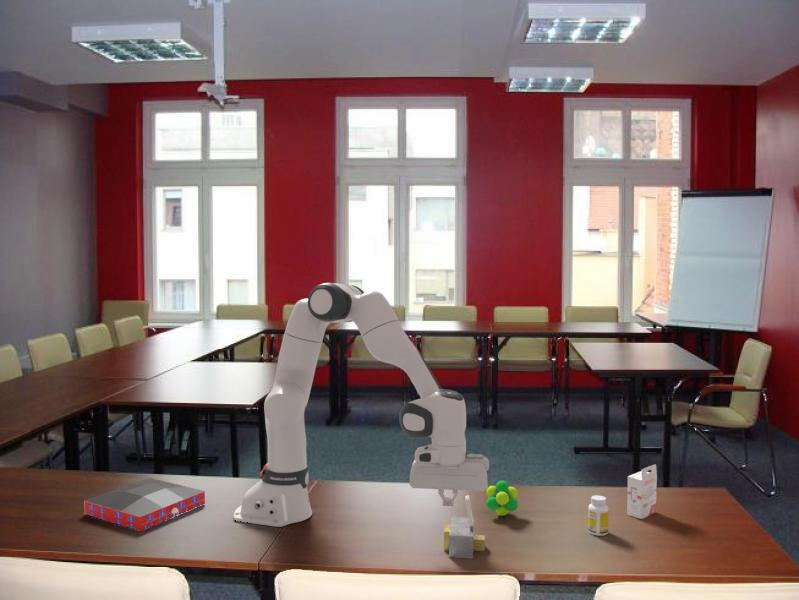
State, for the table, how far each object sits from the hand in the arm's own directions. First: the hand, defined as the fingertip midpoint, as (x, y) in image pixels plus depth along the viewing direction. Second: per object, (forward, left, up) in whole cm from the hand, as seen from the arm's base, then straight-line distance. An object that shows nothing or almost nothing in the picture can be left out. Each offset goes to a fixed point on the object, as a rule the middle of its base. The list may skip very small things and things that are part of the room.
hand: (448, 505), depth 185 cm
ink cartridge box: (+56, +31, -11) cm, 65 cm away
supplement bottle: (+41, +15, -11) cm, 45 cm away
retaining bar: (+6, 0, -5) cm, 8 cm away
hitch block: (+4, 0, -11) cm, 12 cm away
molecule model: (+15, +24, -11) cm, 30 cm away
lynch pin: (+4, 0, -11) cm, 12 cm away
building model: (-89, +14, -12) cm, 91 cm away
